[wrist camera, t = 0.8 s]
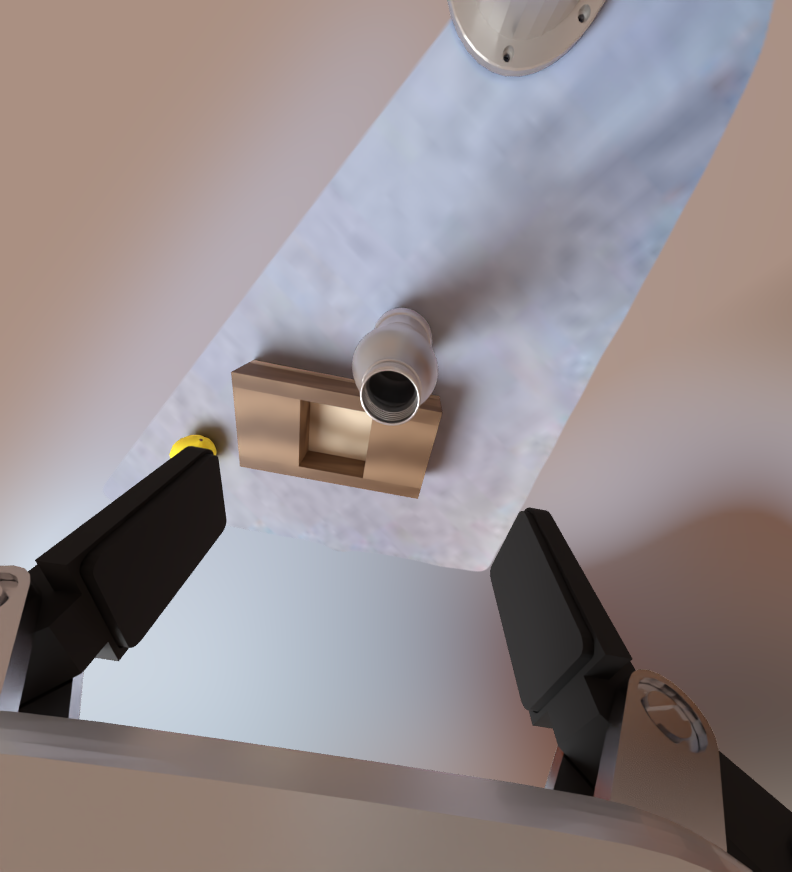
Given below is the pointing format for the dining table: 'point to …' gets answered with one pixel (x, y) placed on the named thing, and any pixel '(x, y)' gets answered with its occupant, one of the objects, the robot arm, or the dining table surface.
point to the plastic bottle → (395, 367)
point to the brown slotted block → (327, 431)
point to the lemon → (192, 444)
